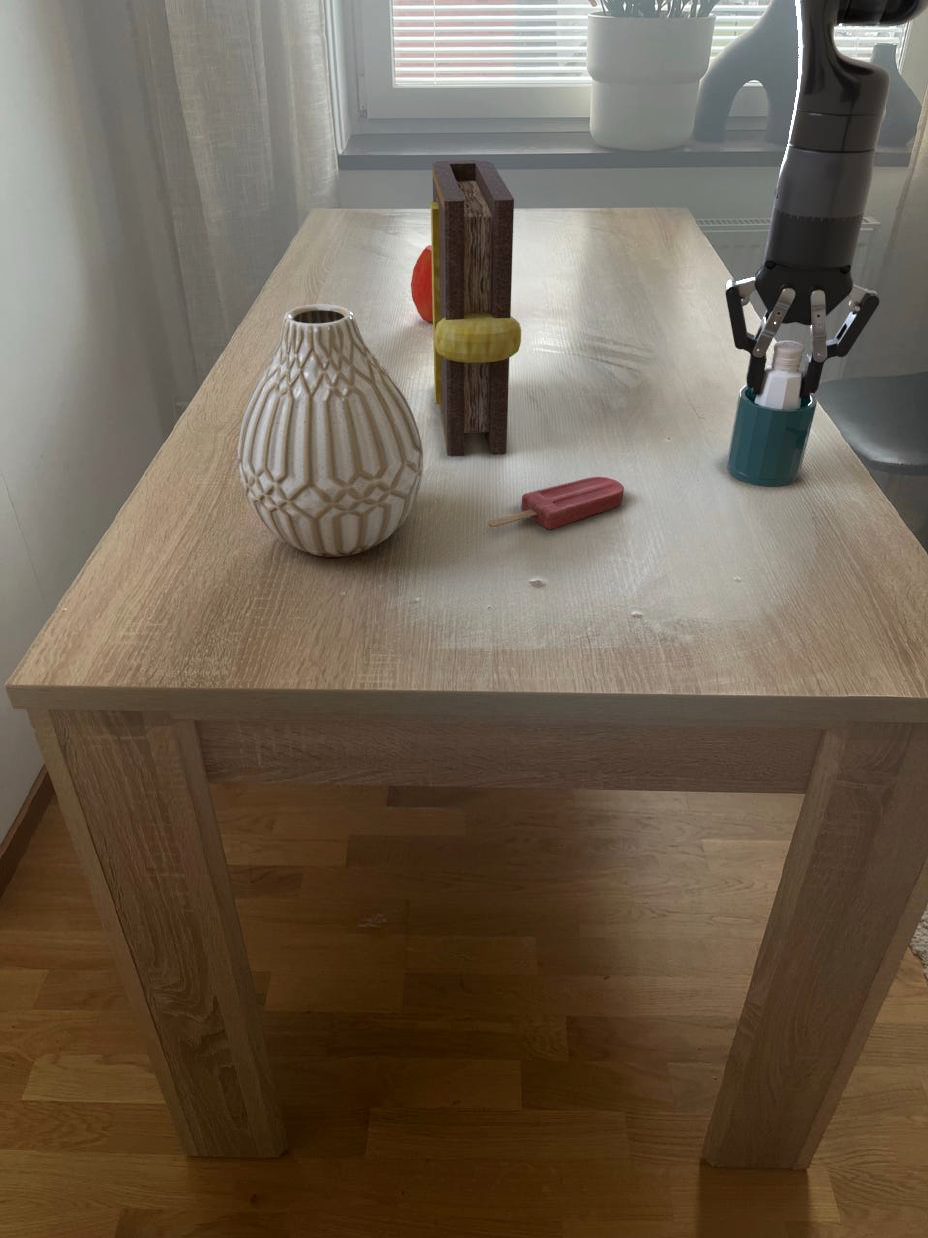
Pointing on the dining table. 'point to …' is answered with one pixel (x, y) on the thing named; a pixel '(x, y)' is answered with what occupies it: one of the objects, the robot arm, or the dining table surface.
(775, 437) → the cup
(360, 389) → the vase
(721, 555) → the dining table surface
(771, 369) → the pepper shaker
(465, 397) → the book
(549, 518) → the popsicle
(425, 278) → the apple
